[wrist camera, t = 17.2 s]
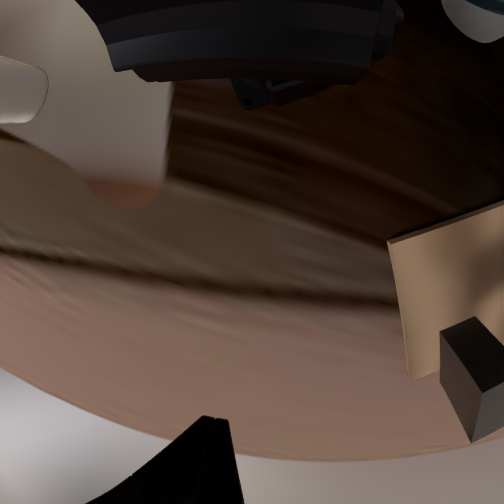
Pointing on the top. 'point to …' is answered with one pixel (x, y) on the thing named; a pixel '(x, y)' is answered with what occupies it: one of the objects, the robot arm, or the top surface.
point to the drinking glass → (21, 91)
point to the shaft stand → (448, 281)
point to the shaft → (473, 376)
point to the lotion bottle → (477, 18)
